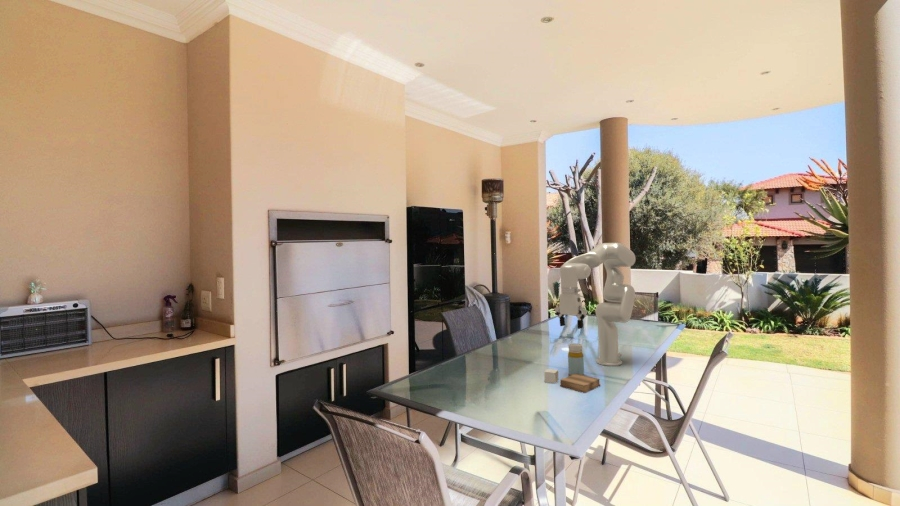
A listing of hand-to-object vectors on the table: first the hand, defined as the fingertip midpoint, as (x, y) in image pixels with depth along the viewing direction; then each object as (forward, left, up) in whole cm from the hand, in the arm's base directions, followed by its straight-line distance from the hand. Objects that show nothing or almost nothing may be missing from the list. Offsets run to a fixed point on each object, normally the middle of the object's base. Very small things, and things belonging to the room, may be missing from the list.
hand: (571, 326), depth 195 cm
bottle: (-3, 0, -24) cm, 24 cm away
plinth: (+8, +9, -24) cm, 27 cm away
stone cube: (+11, -4, -24) cm, 27 cm away
